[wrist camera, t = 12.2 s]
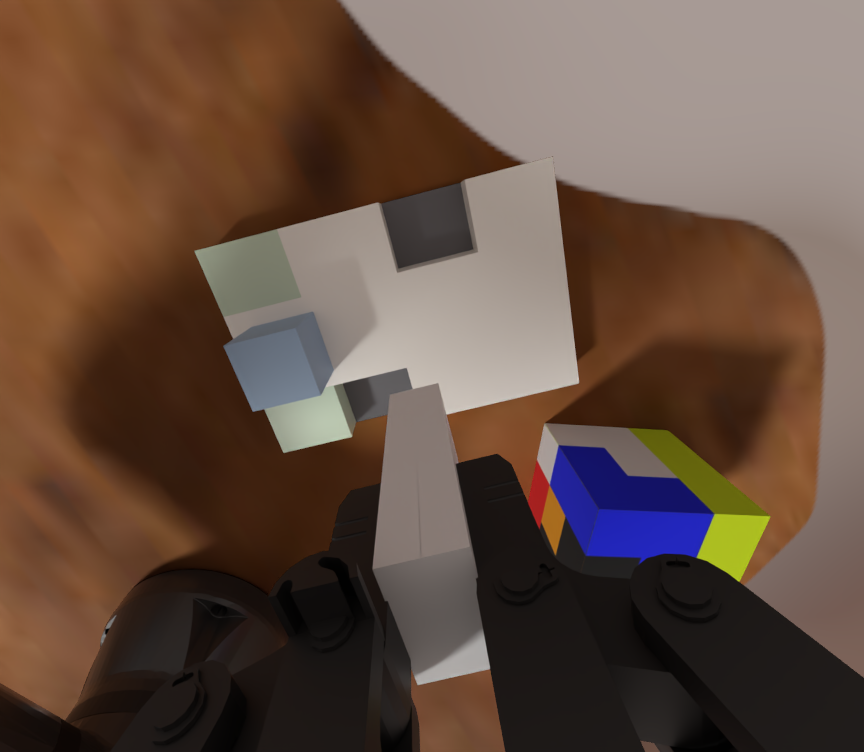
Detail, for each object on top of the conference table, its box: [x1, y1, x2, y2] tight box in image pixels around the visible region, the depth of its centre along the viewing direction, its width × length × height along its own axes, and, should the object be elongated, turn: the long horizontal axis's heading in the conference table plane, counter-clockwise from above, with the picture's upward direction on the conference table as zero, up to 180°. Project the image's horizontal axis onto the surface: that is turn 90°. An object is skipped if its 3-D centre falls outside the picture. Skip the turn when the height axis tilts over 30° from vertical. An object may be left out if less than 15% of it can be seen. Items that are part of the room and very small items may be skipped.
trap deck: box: [195, 156, 579, 453], centre depth 27 cm, size 21×14×2 cm, turn 104°
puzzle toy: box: [528, 423, 771, 581], centre depth 29 cm, size 10×10×10 cm
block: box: [223, 312, 334, 412], centre depth 24 cm, size 4×4×4 cm
